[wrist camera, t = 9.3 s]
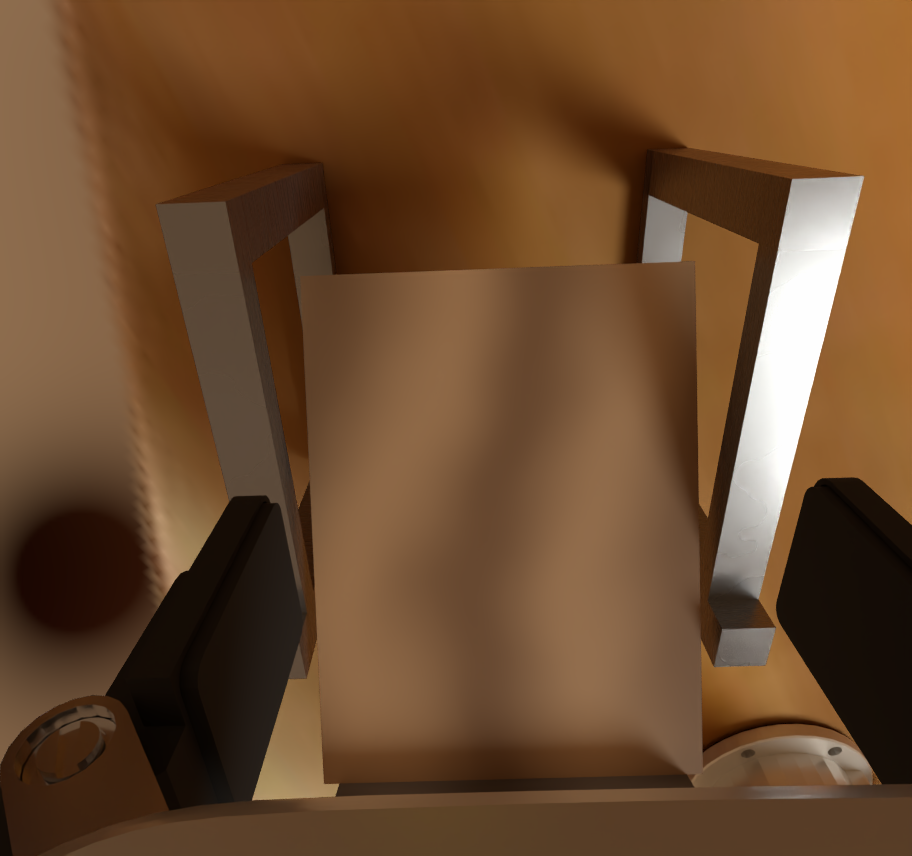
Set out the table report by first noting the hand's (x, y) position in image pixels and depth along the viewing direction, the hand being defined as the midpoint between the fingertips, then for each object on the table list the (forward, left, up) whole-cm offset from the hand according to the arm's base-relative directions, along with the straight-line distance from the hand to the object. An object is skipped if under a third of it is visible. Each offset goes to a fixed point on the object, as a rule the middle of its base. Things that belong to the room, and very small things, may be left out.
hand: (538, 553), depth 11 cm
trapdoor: (0, +7, -8) cm, 10 cm away
